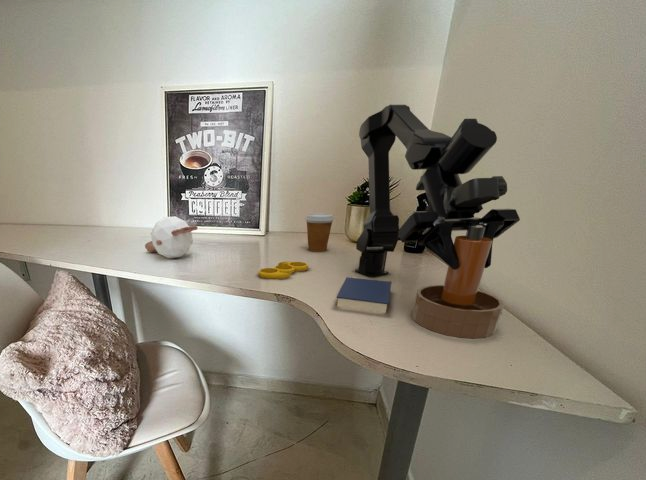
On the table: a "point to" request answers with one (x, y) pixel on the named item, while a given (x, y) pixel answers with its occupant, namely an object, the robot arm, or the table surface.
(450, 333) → the wooden bowl
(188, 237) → the stuffed white mouse
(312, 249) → the disposable coffee cup
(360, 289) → the book
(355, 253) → the table surface
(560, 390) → the table surface
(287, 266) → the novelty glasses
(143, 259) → the table surface
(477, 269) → the amber bottle
